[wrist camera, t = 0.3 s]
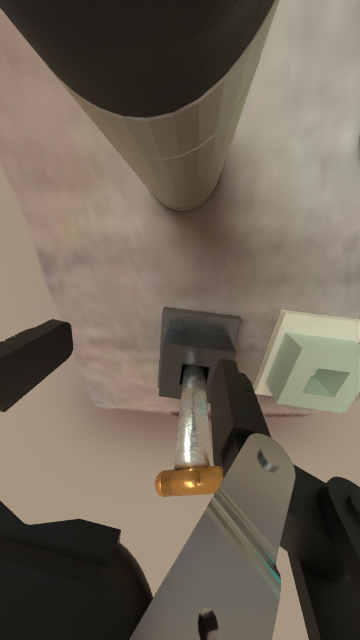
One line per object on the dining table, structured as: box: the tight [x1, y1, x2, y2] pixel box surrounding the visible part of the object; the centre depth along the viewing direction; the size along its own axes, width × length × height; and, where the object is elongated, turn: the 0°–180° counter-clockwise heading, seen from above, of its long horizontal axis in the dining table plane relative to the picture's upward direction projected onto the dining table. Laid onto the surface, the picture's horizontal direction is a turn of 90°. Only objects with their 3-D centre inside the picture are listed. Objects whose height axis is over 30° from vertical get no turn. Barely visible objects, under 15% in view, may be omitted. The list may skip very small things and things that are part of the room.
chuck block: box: [158, 307, 241, 403], centre depth 28 cm, size 16×12×6 cm
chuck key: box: [155, 364, 224, 497], centre depth 21 cm, size 7×3×18 cm, turn 109°
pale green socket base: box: [253, 310, 360, 413], centre depth 26 cm, size 16×12×6 cm
